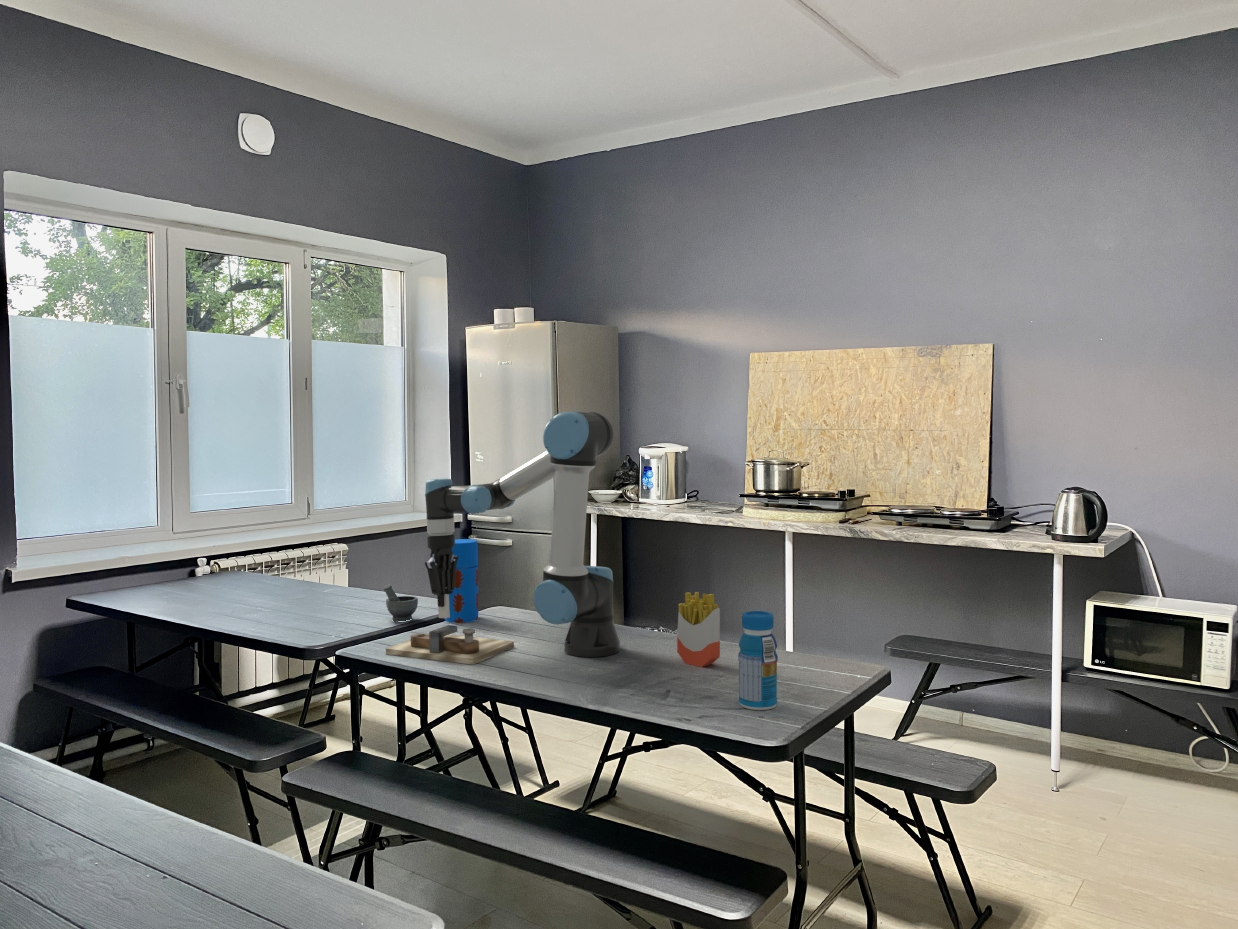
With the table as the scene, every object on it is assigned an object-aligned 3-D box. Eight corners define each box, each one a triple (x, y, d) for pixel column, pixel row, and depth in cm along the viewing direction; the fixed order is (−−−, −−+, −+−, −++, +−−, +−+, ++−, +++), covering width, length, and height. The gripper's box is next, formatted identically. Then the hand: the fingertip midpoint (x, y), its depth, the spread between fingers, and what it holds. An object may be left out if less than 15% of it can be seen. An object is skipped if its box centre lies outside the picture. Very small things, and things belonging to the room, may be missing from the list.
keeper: (457, 646, 239) (457, 626, 239) (438, 653, 231) (438, 632, 231) (448, 645, 240) (448, 625, 240) (429, 652, 233) (429, 631, 232)
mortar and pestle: (408, 615, 286) (408, 579, 286) (423, 620, 279) (422, 582, 279) (377, 621, 278) (376, 583, 278) (391, 625, 272) (390, 587, 271)
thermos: (475, 622, 275) (473, 543, 274) (441, 623, 275) (439, 543, 274) (481, 615, 285) (480, 538, 284) (448, 615, 286) (447, 539, 285)
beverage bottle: (737, 710, 187) (737, 617, 186) (738, 698, 195) (738, 609, 195) (778, 712, 186) (778, 618, 185) (777, 700, 194) (777, 610, 193)
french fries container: (708, 669, 219) (707, 597, 218) (676, 661, 227) (675, 592, 226) (720, 666, 222) (719, 595, 221) (688, 658, 230) (687, 590, 229)
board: (513, 646, 244) (513, 641, 244) (473, 664, 226) (473, 658, 226) (430, 637, 255) (430, 632, 255) (385, 654, 237) (385, 648, 237)
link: (482, 650, 234) (482, 628, 234) (471, 654, 229) (470, 632, 229) (418, 642, 243) (418, 621, 243) (406, 646, 239) (405, 625, 239)
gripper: (443, 531, 253) (446, 612, 254) (415, 536, 242) (419, 621, 242) (465, 531, 250) (468, 613, 251) (438, 536, 239) (441, 623, 239)
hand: (444, 617), depth 247 cm, fingers closed
